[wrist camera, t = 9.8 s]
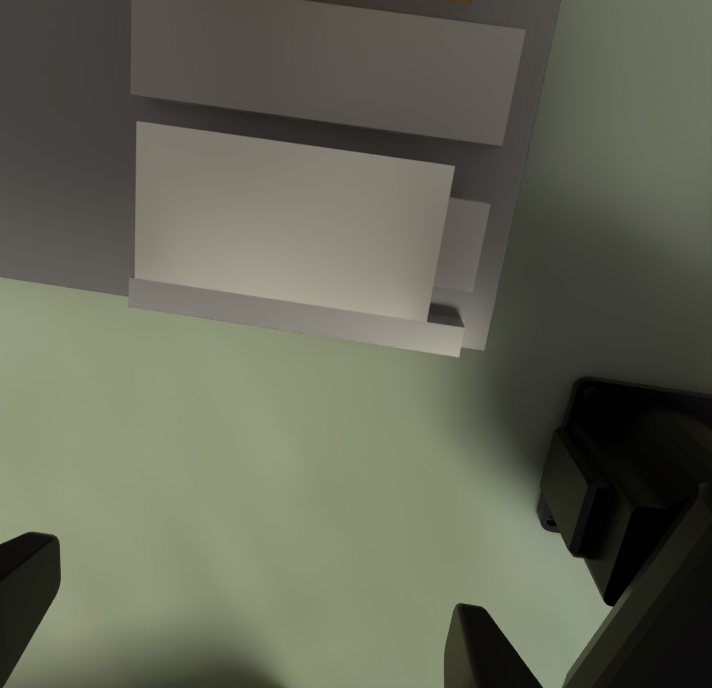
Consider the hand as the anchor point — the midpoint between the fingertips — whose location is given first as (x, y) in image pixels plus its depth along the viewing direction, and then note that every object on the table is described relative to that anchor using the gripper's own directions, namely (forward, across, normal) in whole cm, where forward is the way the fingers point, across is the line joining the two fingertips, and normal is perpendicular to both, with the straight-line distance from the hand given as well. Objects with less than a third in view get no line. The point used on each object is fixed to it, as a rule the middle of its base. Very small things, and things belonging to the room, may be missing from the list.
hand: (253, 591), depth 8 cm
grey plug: (+12, +2, -5) cm, 13 cm away
